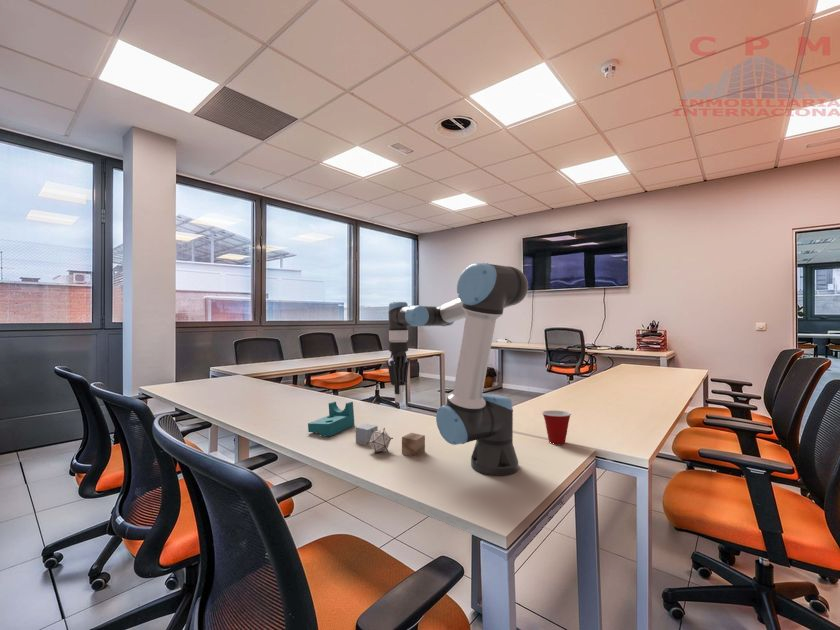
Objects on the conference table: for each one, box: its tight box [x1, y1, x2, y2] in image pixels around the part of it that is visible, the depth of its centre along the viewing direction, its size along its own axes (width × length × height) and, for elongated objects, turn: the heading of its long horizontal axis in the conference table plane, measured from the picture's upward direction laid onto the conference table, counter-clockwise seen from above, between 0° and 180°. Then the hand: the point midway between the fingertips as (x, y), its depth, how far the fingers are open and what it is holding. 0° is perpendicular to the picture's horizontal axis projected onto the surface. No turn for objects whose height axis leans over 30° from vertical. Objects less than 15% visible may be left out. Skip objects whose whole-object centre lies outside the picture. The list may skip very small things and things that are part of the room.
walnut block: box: [401, 432, 426, 458], centre depth 130 cm, size 6×6×6 cm
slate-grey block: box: [355, 423, 379, 446], centre depth 142 cm, size 6×6×6 cm
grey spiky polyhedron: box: [367, 427, 394, 455], centre depth 131 cm, size 9×8×10 cm
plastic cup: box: [541, 409, 572, 445], centre depth 141 cm, size 11×11×12 cm
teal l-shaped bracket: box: [307, 401, 355, 437], centre depth 158 cm, size 18×11×10 cm, turn 157°
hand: (398, 402), depth 141 cm, fingers closed
